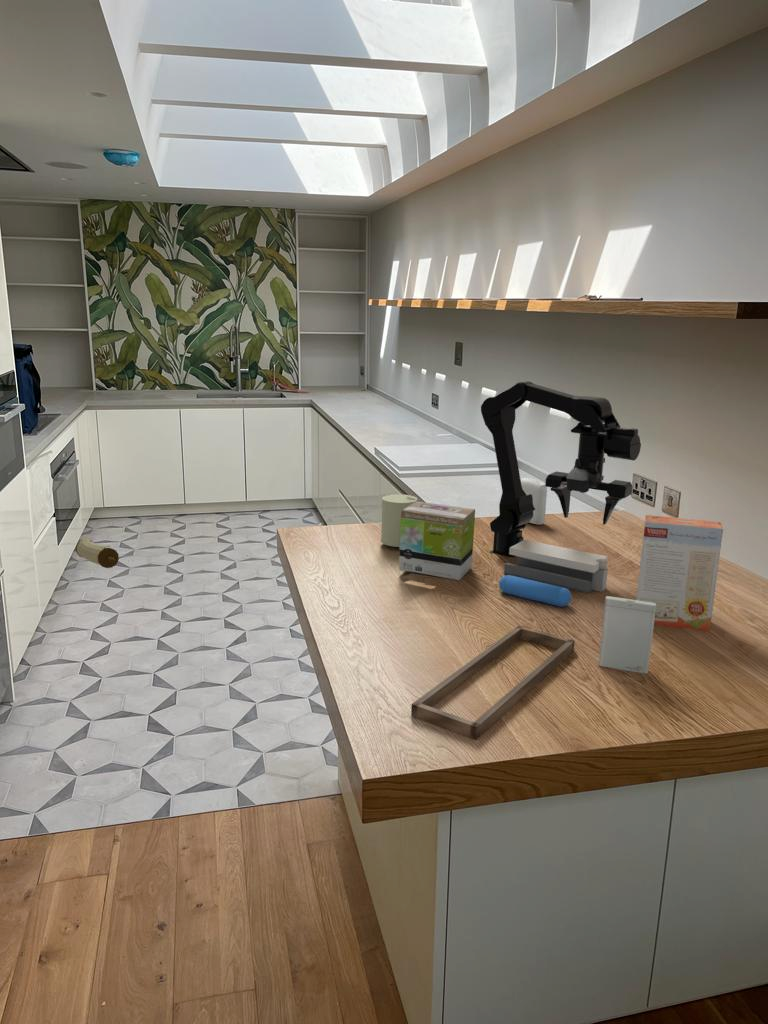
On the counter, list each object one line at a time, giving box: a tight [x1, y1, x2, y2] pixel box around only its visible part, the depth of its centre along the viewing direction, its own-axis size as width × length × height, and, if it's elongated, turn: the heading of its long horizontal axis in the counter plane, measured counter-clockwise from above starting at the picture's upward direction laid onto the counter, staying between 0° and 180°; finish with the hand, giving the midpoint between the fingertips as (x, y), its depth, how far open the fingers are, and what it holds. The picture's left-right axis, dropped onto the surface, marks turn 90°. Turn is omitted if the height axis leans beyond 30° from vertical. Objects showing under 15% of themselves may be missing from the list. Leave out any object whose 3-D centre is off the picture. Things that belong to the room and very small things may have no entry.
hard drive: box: [598, 595, 656, 674], centre depth 134 cm, size 2×8×12 cm, turn 70°
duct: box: [503, 556, 609, 594], centre depth 177 cm, size 22×8×5 cm, turn 55°
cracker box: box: [635, 514, 724, 631], centre depth 153 cm, size 14×6×21 cm, turn 71°
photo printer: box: [520, 477, 548, 526], centre depth 224 cm, size 10×4×12 cm, turn 39°
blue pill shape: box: [498, 574, 572, 608], centre depth 166 cm, size 16×4×4 cm, turn 55°
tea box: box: [398, 500, 476, 582], centre depth 181 cm, size 15×10×15 cm, turn 68°
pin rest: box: [410, 625, 576, 740], centre depth 130 cm, size 11×37×2 cm, turn 145°
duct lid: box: [509, 539, 608, 573], centre depth 176 cm, size 21×8×2 cm, turn 55°
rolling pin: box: [75, 536, 120, 569], centre depth 201 cm, size 32×6×5 cm
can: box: [380, 493, 418, 548], centre depth 202 cm, size 9×9×12 cm
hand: (585, 520), depth 182 cm, fingers open, 9 cm apart
